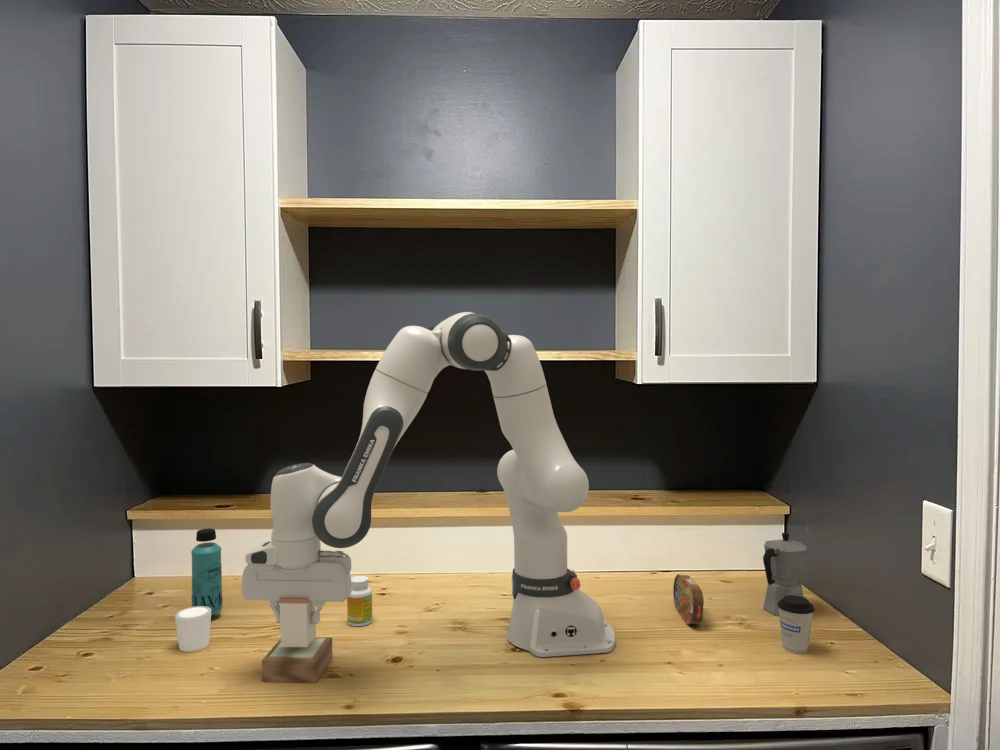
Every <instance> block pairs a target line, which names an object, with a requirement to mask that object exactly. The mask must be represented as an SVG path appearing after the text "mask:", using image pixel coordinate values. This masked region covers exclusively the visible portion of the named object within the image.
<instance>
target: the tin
mask: <svg viewBox="0 0 1000 750" xmlns="http://www.w3.org/2000/svg"><path fill="white" fill-rule="evenodd" d="M674 577H675V578H674V582H673V589H672V590H673V591H672V592H673V603H674V607H675V610H676V612H677V613H678V614H679V617H681V619H682V621H684V622H685V624H686V625H700V624H701V623H702V621H703V618H704V616H703V615H704V604H705V603H704V602H705V601H704V600H705V599H704V595H703V592H702V588H700V586H699V585H698V583H696V581H695V580H694V579H693V578H692V577H691V576H690V575H686V574H676V575H675V576H674Z"/></svg>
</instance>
